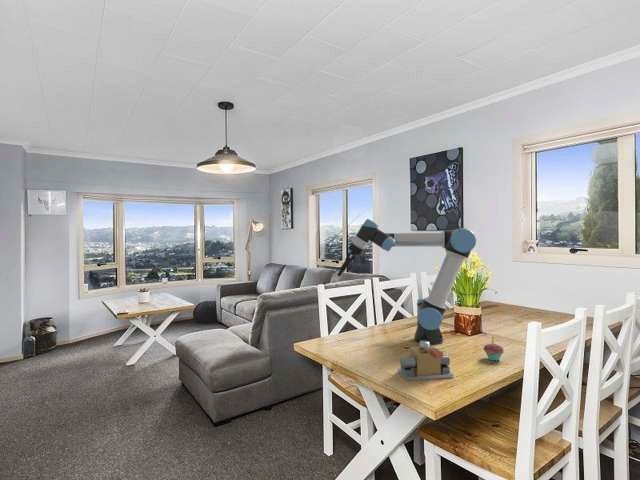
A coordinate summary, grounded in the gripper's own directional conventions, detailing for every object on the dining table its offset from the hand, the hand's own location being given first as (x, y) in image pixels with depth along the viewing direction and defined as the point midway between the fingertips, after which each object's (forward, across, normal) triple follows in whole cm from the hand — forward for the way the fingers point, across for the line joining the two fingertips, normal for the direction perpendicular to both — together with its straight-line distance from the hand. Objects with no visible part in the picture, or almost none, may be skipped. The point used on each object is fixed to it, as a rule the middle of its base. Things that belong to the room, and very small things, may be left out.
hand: (336, 278), depth 198 cm
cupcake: (-12, +18, +82) cm, 85 cm away
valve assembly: (+5, +41, +53) cm, 68 cm away
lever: (-5, +46, +49) cm, 67 cm away
